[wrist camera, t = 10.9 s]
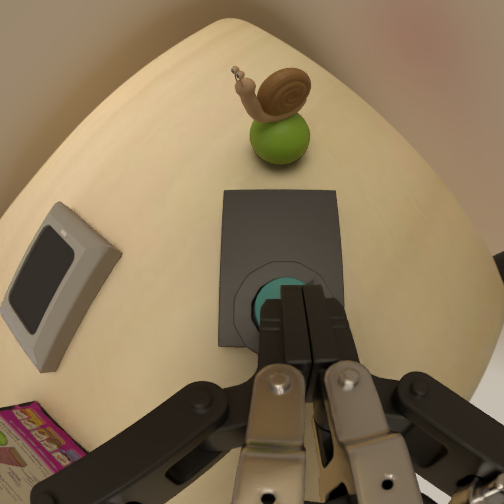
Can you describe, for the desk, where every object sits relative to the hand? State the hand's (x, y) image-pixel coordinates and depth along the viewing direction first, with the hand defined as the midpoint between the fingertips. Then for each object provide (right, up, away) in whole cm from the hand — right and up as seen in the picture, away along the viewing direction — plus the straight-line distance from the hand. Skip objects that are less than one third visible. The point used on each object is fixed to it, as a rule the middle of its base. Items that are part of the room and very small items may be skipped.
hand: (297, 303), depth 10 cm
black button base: (+1, 0, +13) cm, 13 cm away
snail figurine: (0, +11, +16) cm, 20 cm away
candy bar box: (-22, -19, +9) cm, 31 cm away
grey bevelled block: (-22, -2, +14) cm, 26 cm away
